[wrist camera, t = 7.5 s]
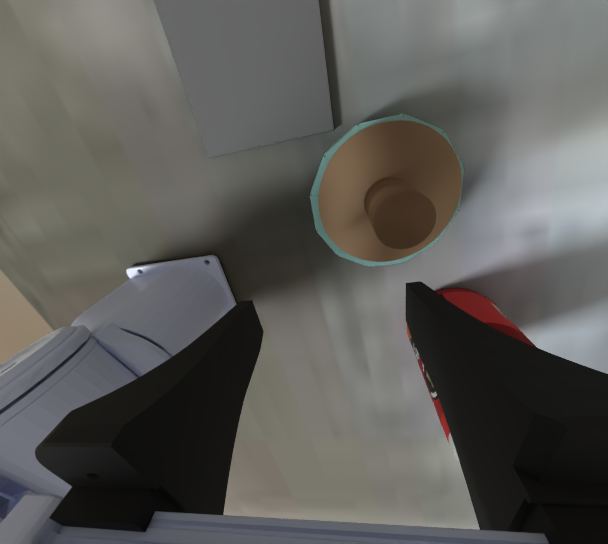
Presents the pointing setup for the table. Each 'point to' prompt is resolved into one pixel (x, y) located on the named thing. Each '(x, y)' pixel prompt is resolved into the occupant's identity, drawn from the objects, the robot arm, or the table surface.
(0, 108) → the table surface
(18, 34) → the table surface
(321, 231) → the bowl
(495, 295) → the table surface
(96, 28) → the table surface
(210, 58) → the mat
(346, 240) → the lid
